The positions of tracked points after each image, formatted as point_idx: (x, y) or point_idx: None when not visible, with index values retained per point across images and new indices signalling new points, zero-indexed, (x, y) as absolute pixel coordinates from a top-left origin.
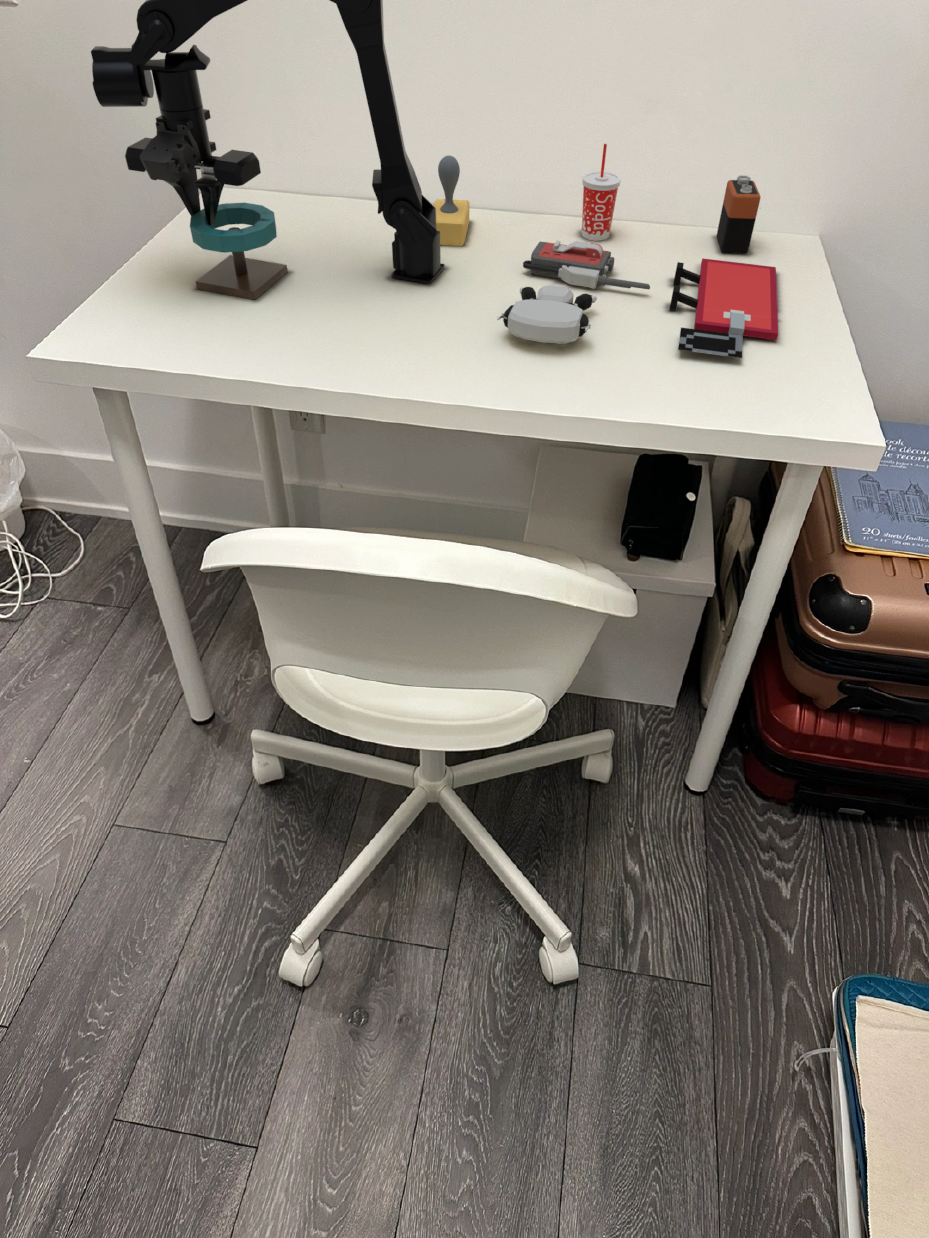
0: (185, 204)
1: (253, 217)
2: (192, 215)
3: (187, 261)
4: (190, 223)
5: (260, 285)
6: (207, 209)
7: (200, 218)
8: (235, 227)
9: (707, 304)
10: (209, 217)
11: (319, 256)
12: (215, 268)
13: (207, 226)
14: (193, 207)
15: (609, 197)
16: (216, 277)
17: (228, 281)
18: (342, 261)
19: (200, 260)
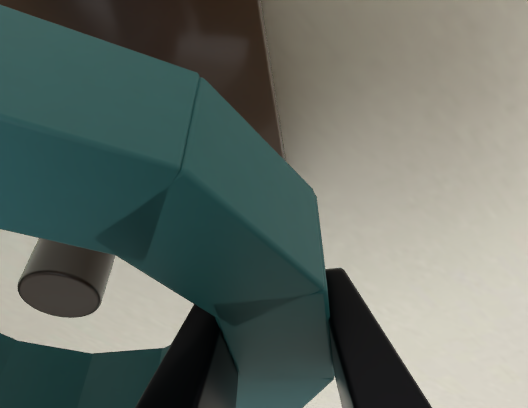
0: (403, 392)
1: (84, 395)
2: (348, 311)
3: (469, 135)
4: (220, 208)
5: None
6: (164, 393)
7: (222, 300)
8: (82, 315)
9: None
10: (187, 330)
11: (90, 314)
12: (259, 109)
13: (9, 227)
14: (343, 379)
15: None
16: (180, 36)
17: (92, 31)
18: (15, 316)
19: (418, 163)
